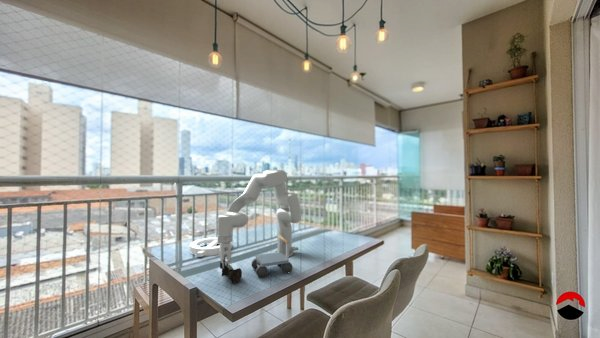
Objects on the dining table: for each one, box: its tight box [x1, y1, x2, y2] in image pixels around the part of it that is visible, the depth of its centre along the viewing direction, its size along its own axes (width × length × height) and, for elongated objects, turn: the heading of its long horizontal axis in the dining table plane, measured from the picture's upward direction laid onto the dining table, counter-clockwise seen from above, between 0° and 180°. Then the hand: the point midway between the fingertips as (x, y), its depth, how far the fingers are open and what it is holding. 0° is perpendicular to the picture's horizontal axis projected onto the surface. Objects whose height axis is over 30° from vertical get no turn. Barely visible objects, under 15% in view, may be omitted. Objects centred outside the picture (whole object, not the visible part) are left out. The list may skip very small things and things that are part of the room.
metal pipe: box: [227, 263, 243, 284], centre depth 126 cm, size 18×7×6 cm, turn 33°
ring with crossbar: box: [189, 236, 233, 258], centre depth 170 cm, size 28×28×5 cm
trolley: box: [251, 235, 293, 279], centre depth 134 cm, size 20×14×18 cm
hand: (224, 271), depth 124 cm, fingers open, 9 cm apart
